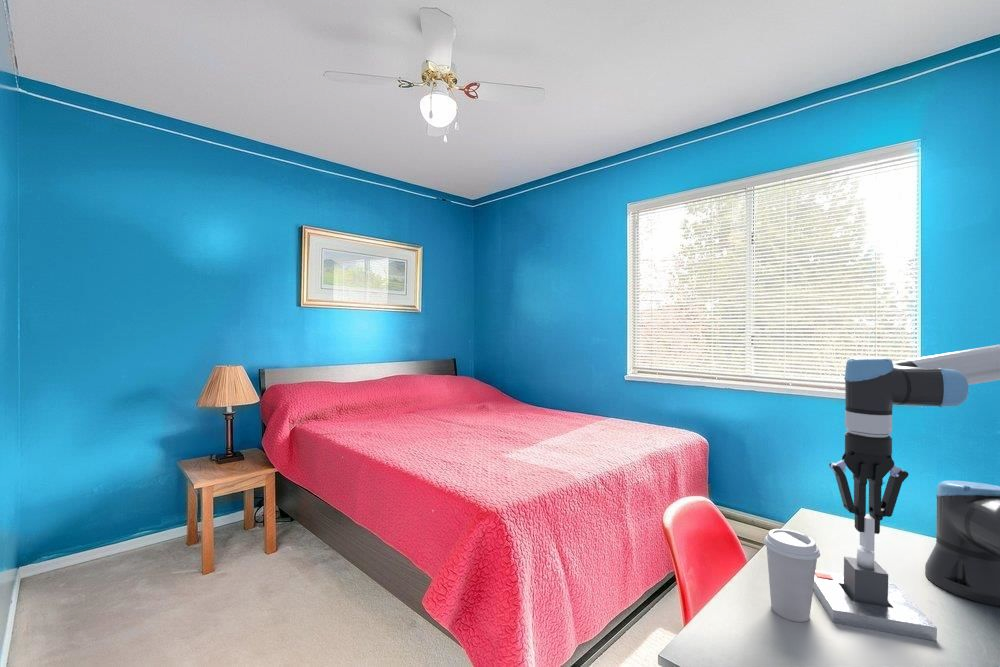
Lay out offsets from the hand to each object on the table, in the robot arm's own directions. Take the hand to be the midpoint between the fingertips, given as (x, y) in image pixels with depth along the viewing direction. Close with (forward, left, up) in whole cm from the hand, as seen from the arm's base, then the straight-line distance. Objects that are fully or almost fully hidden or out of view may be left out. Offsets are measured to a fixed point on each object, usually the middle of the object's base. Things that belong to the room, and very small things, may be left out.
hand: (866, 547), depth 93 cm
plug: (0, 0, -12) cm, 12 cm away
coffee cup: (+15, +7, -12) cm, 21 cm away
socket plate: (0, 0, -12) cm, 12 cm away
